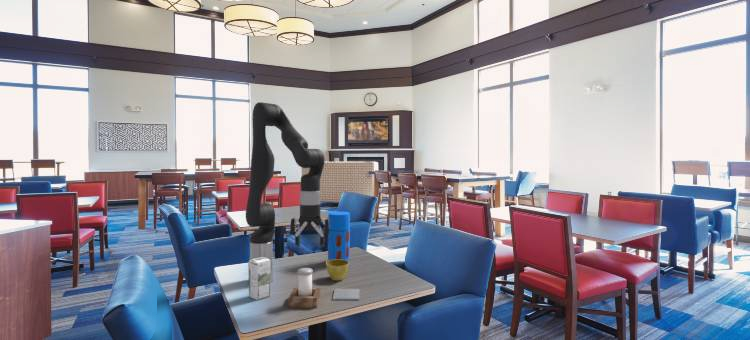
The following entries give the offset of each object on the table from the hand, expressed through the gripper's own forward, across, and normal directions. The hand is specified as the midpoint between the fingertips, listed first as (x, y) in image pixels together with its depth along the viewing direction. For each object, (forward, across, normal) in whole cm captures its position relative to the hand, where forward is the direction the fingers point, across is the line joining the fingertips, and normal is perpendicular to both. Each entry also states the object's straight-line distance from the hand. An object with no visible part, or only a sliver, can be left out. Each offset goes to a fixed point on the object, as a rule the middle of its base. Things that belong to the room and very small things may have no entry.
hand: (309, 246), depth 140 cm
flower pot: (+21, +8, +25) cm, 33 cm away
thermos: (+21, +6, +49) cm, 53 cm away
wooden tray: (+20, -2, -2) cm, 21 cm away
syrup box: (+21, -20, +3) cm, 29 cm away
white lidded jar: (+21, -2, -2) cm, 21 cm away
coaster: (+20, +13, +6) cm, 25 cm away
